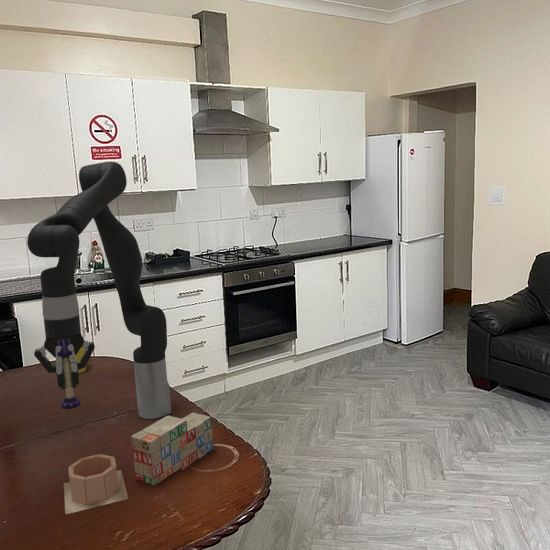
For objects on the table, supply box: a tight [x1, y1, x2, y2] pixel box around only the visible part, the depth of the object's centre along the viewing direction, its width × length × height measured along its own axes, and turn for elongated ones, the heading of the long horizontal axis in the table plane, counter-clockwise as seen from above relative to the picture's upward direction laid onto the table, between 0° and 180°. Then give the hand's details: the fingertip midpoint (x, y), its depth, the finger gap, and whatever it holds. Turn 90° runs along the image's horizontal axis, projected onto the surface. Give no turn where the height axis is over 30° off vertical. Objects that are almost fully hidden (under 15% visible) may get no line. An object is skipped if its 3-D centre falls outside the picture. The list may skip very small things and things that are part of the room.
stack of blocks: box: [130, 412, 214, 486], centre depth 135 cm, size 21×6×12 cm, turn 147°
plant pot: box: [69, 345, 87, 375], centre depth 204 cm, size 10×10×10 cm
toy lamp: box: [55, 338, 82, 410], centre depth 126 cm, size 5×5×17 cm
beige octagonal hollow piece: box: [67, 453, 119, 505], centre depth 124 cm, size 10×10×6 cm
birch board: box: [63, 469, 129, 515], centre depth 125 cm, size 13×13×1 cm
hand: (68, 387), depth 127 cm, fingers closed on toy lamp
